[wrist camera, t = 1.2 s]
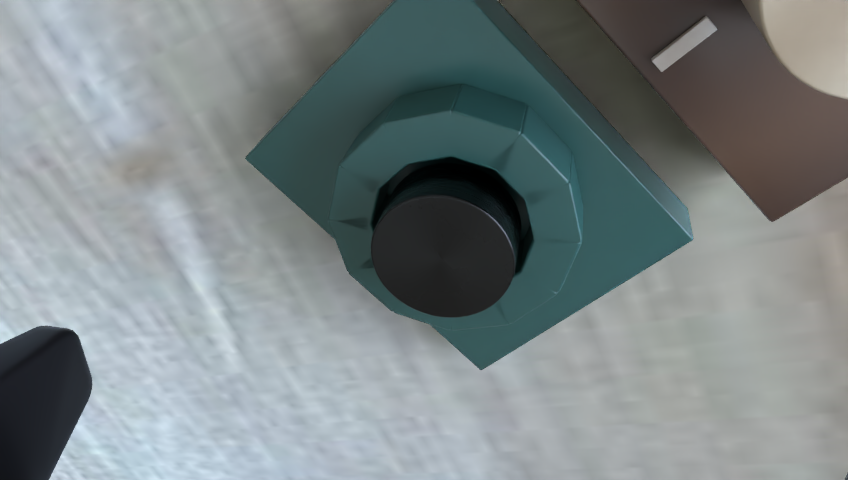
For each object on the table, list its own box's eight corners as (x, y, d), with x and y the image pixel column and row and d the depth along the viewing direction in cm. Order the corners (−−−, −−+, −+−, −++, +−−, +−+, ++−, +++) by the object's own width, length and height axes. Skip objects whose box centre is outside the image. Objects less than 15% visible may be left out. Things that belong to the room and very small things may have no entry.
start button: (550, 232, 19) (546, 270, 18) (452, 300, 21) (441, 340, 20) (453, 134, 18) (440, 166, 17) (359, 215, 20) (341, 250, 19)
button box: (688, 208, 21) (701, 278, 19) (487, 337, 25) (473, 411, 23) (446, -56, 19) (418, -23, 16) (265, 134, 23) (217, 188, 20)
